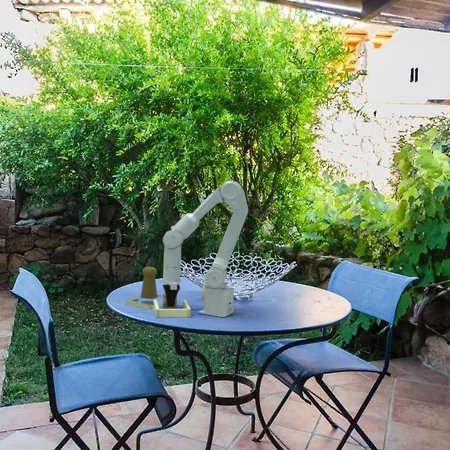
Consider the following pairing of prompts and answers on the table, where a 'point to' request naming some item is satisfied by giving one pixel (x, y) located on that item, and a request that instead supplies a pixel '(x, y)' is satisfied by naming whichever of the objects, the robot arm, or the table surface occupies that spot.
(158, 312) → the u-shaped bracket
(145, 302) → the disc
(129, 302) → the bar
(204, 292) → the tan rounded-top cylinder
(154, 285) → the cork
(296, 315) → the table surface
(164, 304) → the block
